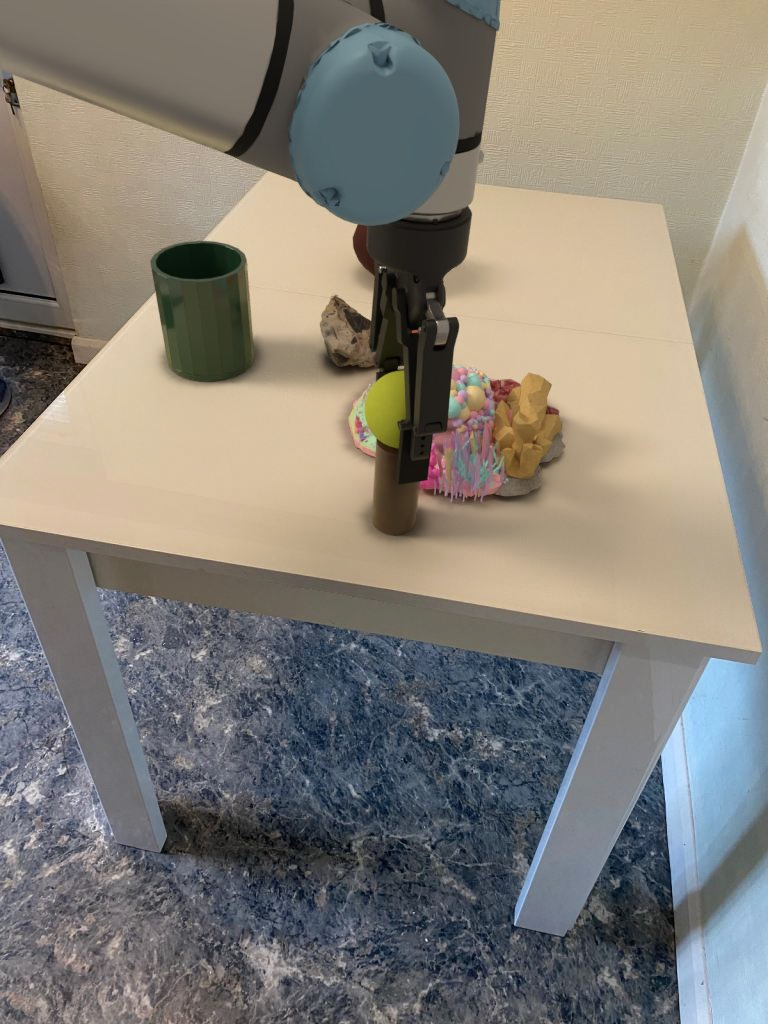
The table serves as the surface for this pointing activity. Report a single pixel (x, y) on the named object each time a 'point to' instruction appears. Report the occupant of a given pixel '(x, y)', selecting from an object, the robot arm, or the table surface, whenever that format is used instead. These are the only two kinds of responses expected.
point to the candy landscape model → (484, 435)
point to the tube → (204, 309)
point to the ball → (386, 408)
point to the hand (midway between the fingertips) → (399, 454)
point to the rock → (346, 334)
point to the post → (392, 494)
